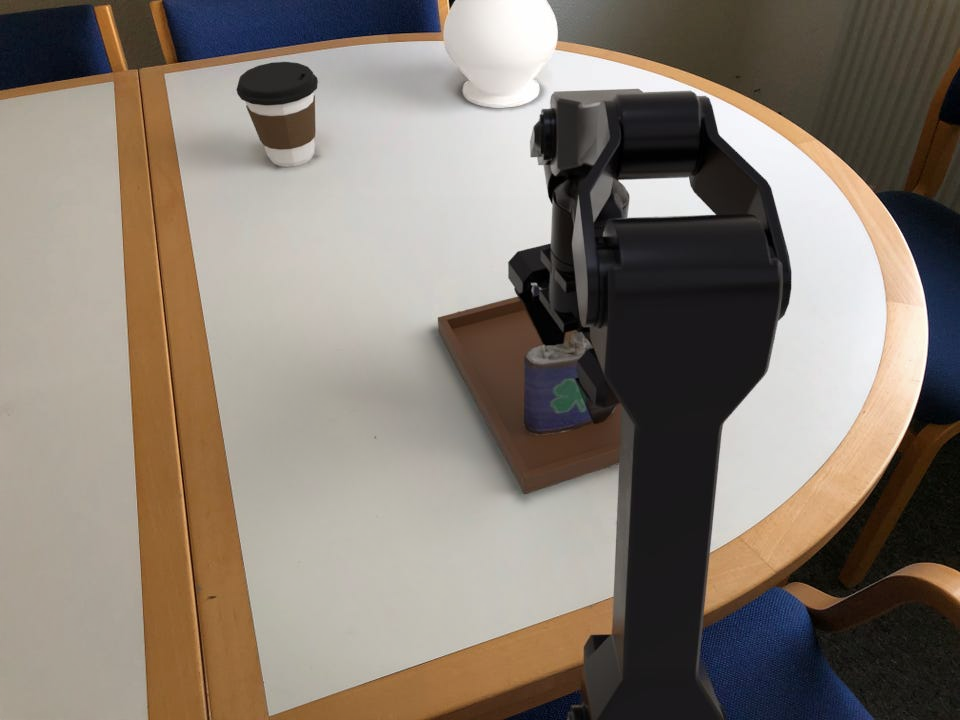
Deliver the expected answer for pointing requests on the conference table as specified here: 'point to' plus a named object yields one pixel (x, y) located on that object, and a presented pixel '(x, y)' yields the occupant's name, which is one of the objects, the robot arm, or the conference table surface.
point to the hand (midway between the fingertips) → (575, 387)
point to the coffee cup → (282, 109)
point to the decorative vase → (500, 48)
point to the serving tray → (521, 396)
